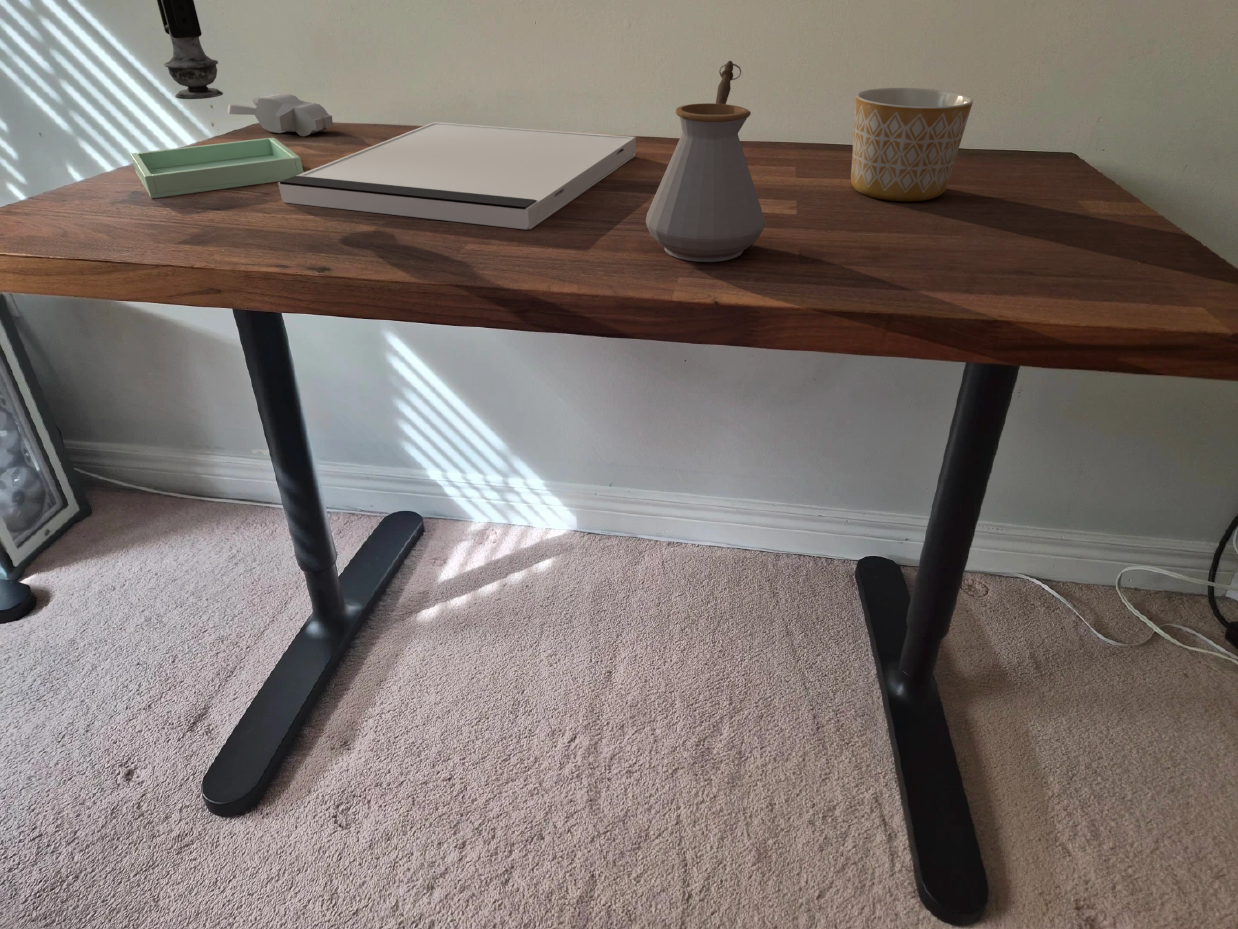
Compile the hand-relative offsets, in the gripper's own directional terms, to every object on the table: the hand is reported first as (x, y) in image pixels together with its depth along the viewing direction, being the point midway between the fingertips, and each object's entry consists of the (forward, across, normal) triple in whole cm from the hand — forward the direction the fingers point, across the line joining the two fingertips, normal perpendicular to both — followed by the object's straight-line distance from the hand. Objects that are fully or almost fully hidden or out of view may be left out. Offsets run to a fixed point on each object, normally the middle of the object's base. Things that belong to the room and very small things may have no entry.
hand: (183, 33), depth 96 cm
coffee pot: (+16, +52, +38) cm, 66 cm away
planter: (+16, +51, +67) cm, 86 cm away
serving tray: (+16, 0, 0) cm, 16 cm away
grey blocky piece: (+16, -23, +14) cm, 31 cm away
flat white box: (+16, +18, +27) cm, 36 cm away
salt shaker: (+7, 0, 0) cm, 7 cm away
